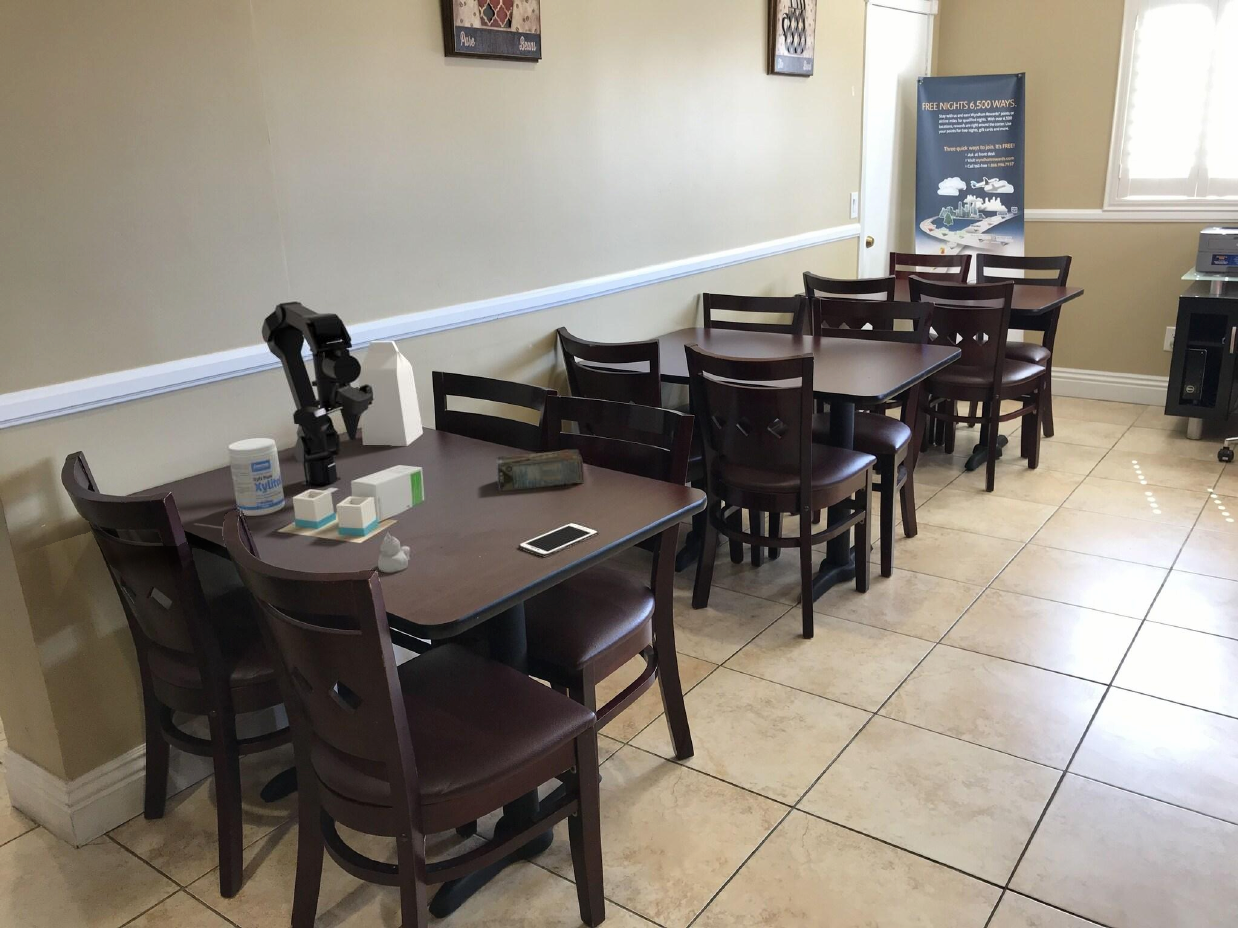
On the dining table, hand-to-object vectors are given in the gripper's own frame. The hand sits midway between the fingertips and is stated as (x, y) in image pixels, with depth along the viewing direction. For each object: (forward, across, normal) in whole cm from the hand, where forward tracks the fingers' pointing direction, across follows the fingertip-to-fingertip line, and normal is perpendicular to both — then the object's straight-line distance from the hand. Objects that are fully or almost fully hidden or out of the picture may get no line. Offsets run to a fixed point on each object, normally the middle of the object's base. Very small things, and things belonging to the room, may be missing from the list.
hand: (338, 446), depth 205 cm
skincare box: (+8, +3, -16) cm, 18 cm away
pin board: (+12, -16, -12) cm, 23 cm away
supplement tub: (+12, -12, +13) cm, 21 cm away
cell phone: (+12, -7, -56) cm, 58 cm away
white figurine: (+11, -29, -35) cm, 46 cm away
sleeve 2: (+10, -17, -17) cm, 26 cm away
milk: (+13, +41, +18) cm, 47 cm away
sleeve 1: (+11, -16, -6) cm, 20 cm away
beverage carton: (+12, +22, -36) cm, 44 cm away
